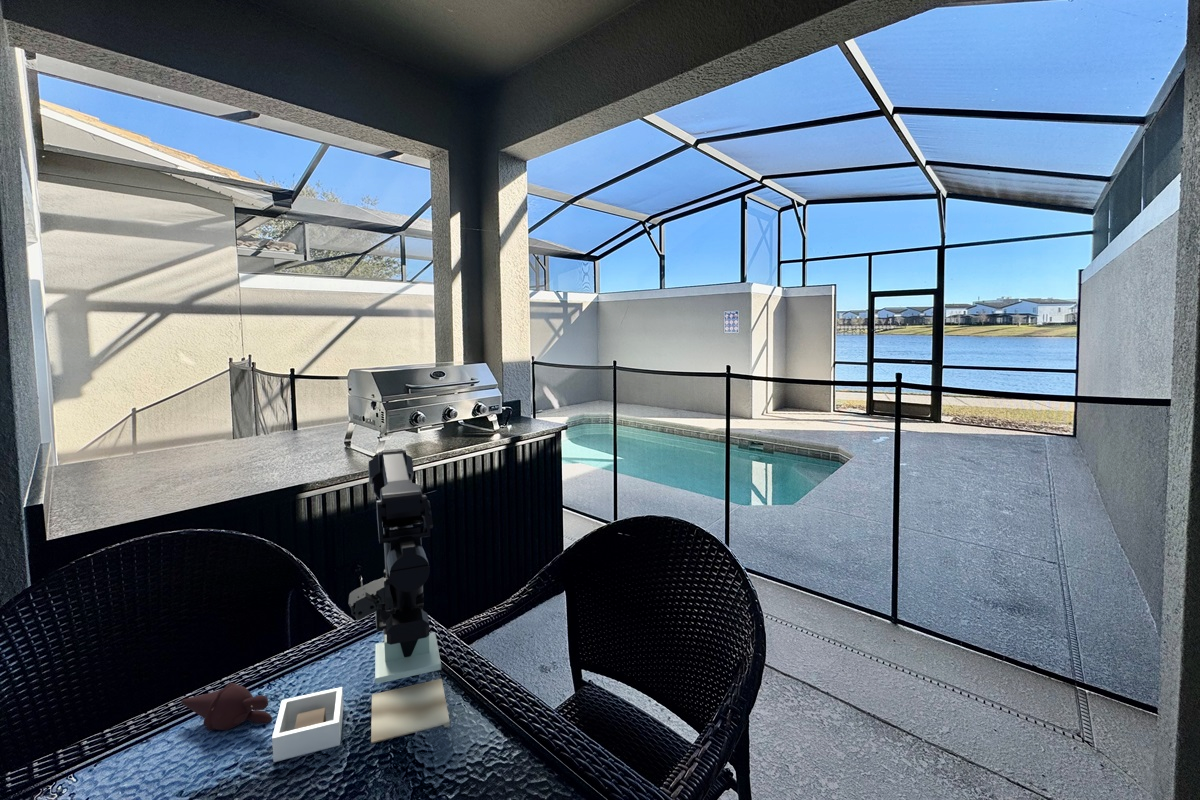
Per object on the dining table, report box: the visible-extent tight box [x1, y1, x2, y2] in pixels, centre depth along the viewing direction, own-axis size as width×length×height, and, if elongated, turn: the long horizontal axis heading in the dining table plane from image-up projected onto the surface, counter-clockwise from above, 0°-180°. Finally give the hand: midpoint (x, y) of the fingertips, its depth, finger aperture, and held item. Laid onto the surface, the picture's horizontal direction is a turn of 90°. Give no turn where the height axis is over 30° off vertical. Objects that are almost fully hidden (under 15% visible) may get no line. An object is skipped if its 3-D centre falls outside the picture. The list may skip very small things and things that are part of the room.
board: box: [370, 678, 451, 745], centre depth 91 cm, size 12×12×1 cm
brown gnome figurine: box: [180, 682, 273, 732], centre depth 87 cm, size 7×7×15 cm
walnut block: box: [295, 708, 326, 729], centre depth 85 cm, size 4×4×2 cm
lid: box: [374, 631, 442, 685], centre depth 90 cm, size 10×10×5 cm
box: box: [271, 686, 344, 763], centre depth 85 cm, size 9×9×4 cm
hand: (407, 651), depth 90 cm, fingers closed on lid, 2 cm apart
